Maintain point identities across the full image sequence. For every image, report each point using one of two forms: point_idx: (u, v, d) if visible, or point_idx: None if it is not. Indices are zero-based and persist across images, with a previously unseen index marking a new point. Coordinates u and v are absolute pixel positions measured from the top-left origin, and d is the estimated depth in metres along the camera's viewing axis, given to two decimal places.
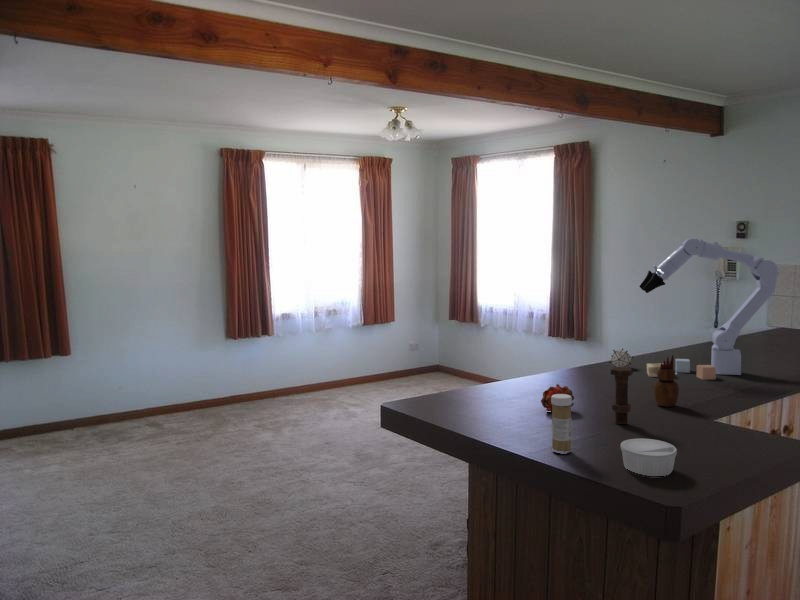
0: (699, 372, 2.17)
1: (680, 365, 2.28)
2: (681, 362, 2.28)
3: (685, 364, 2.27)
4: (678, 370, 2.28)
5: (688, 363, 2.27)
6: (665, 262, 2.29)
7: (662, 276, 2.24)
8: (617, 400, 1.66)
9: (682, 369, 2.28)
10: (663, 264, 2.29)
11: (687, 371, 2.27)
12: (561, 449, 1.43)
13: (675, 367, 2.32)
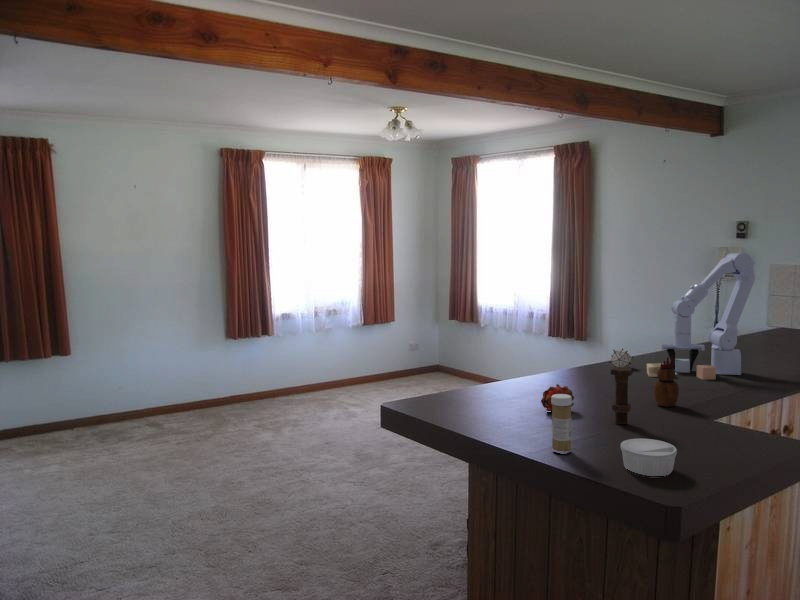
0: (699, 372, 2.17)
1: (680, 365, 2.28)
2: (681, 362, 2.28)
3: (685, 364, 2.27)
4: (678, 370, 2.28)
5: (688, 363, 2.27)
6: (688, 337, 2.26)
7: None
8: (617, 400, 1.66)
9: (682, 369, 2.28)
10: (688, 339, 2.26)
11: (687, 371, 2.27)
12: (561, 449, 1.43)
13: (675, 367, 2.32)
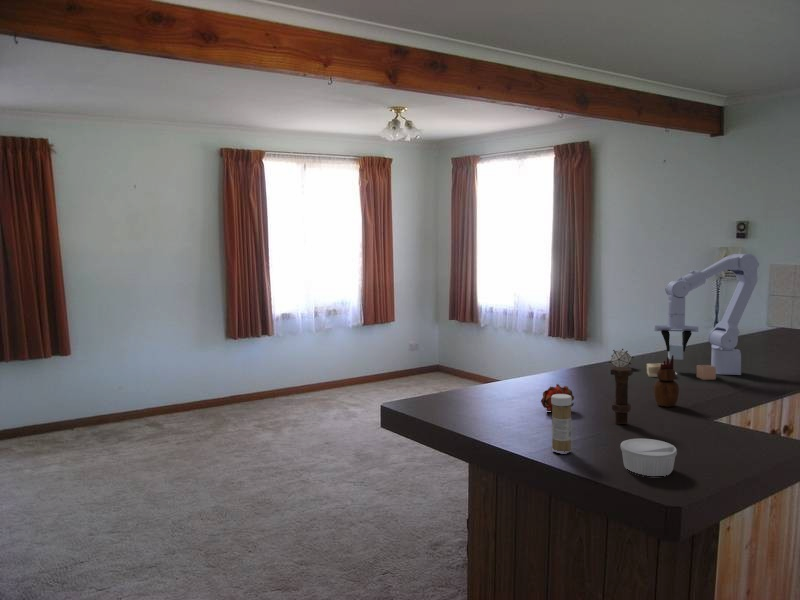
0: (699, 372, 2.17)
1: (673, 350, 2.26)
2: (674, 347, 2.26)
3: (678, 349, 2.26)
4: (671, 355, 2.26)
5: (681, 348, 2.25)
6: (682, 318, 2.24)
7: None
8: (617, 400, 1.66)
9: (675, 354, 2.26)
10: (682, 320, 2.24)
11: (680, 356, 2.26)
12: (561, 449, 1.43)
13: (668, 353, 2.31)
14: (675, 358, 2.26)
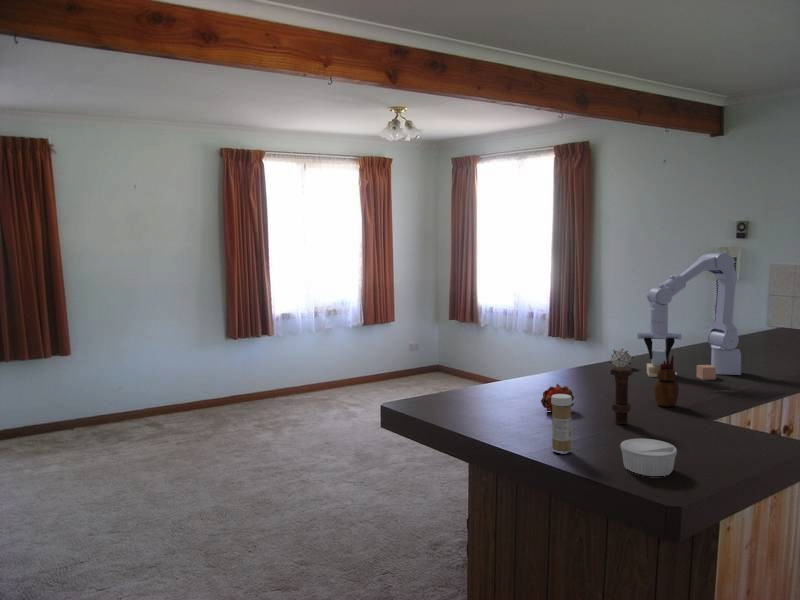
0: (699, 372, 2.17)
1: (656, 356, 2.23)
2: (657, 353, 2.23)
3: (661, 355, 2.22)
4: (654, 361, 2.23)
5: (664, 354, 2.22)
6: (664, 325, 2.20)
7: None
8: (617, 400, 1.66)
9: (658, 360, 2.23)
10: (664, 328, 2.20)
11: (663, 362, 2.22)
12: (561, 449, 1.43)
13: None
14: (658, 364, 2.23)
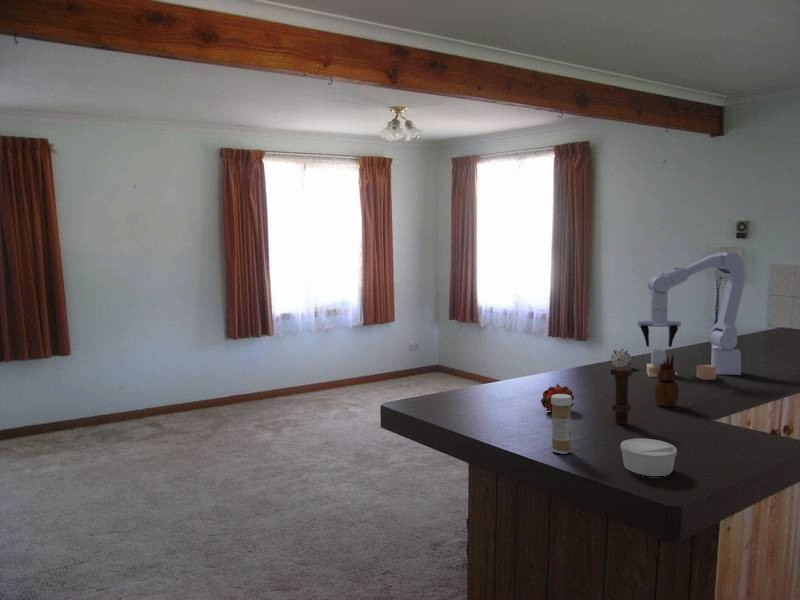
0: (699, 372, 2.17)
1: (656, 356, 2.23)
2: (657, 353, 2.23)
3: (661, 355, 2.22)
4: (654, 361, 2.23)
5: (664, 354, 2.22)
6: (664, 313, 2.25)
7: (680, 325, 2.25)
8: (617, 400, 1.66)
9: (658, 360, 2.23)
10: (664, 315, 2.25)
11: (663, 362, 2.22)
12: (561, 449, 1.43)
13: (651, 358, 2.28)
14: (658, 364, 2.23)
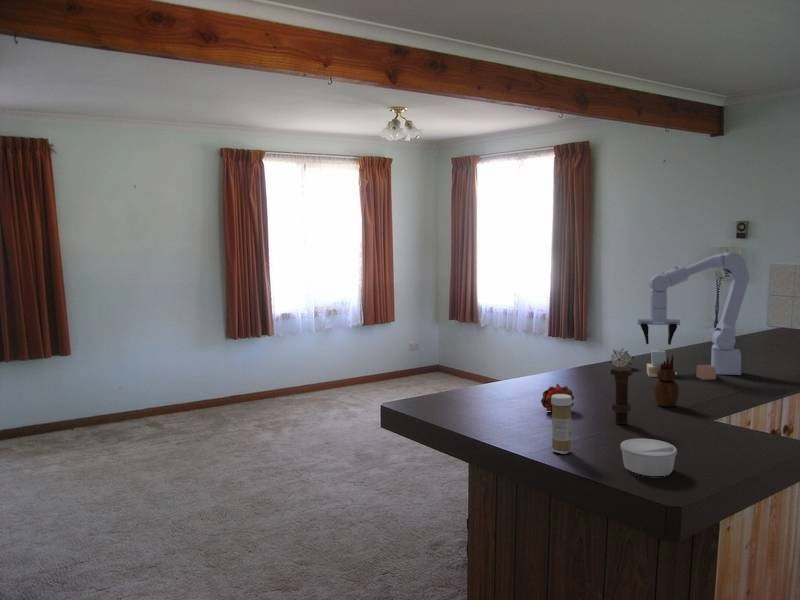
0: (699, 372, 2.17)
1: (656, 356, 2.23)
2: (657, 353, 2.23)
3: (661, 355, 2.22)
4: (654, 361, 2.23)
5: (664, 354, 2.22)
6: (664, 311, 2.29)
7: (679, 323, 2.30)
8: (617, 400, 1.66)
9: (658, 360, 2.23)
10: (664, 314, 2.29)
11: (663, 362, 2.22)
12: (561, 449, 1.43)
13: (651, 358, 2.28)
14: (658, 364, 2.23)
